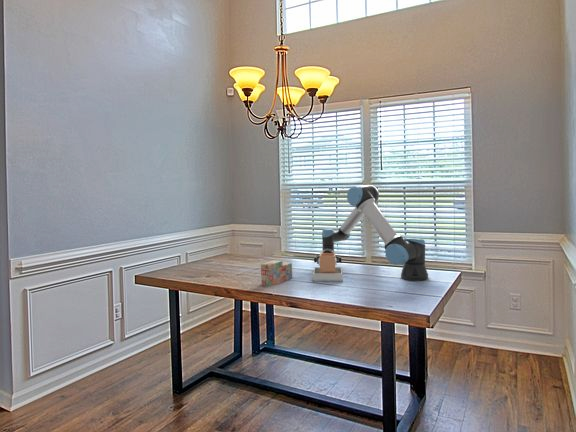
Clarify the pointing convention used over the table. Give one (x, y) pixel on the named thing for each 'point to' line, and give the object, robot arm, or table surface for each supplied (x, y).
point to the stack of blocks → (275, 272)
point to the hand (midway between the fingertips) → (327, 262)
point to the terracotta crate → (327, 262)
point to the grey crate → (327, 275)
